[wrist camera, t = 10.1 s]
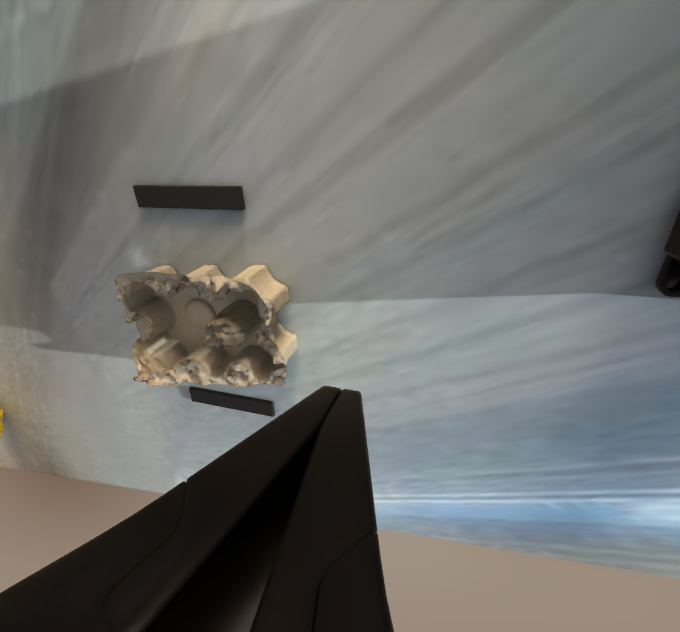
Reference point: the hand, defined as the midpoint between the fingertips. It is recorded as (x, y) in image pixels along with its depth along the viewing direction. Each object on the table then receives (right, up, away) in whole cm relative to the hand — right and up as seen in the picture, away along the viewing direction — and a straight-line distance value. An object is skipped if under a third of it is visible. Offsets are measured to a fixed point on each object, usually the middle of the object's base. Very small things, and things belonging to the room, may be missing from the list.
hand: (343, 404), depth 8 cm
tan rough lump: (-8, +2, +16) cm, 18 cm away
